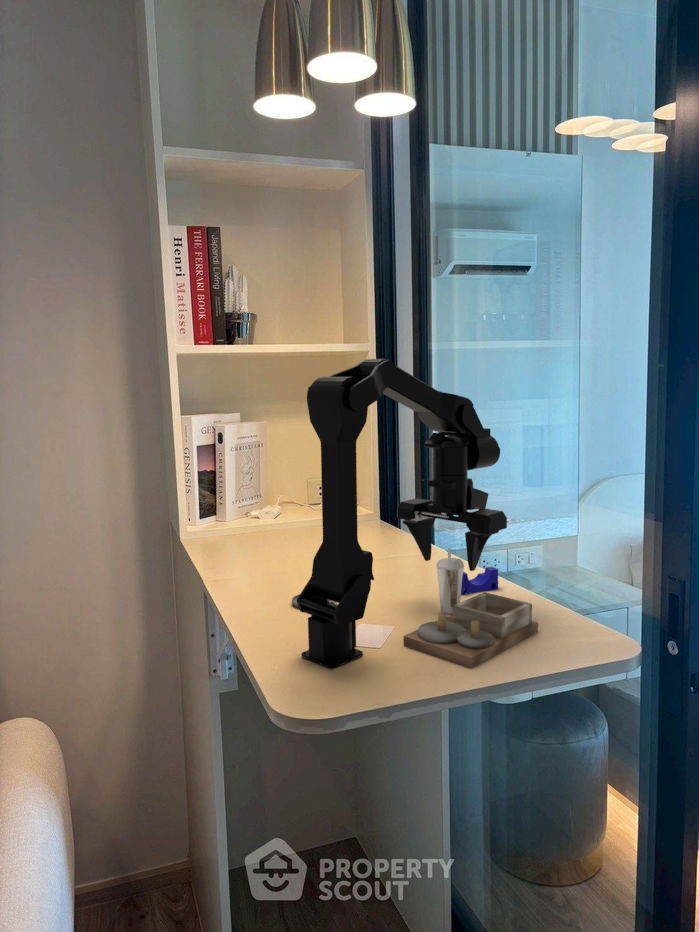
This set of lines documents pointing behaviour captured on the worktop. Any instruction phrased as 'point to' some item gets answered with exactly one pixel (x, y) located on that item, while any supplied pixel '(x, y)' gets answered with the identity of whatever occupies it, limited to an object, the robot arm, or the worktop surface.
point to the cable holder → (480, 581)
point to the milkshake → (449, 582)
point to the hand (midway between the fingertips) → (449, 565)
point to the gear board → (475, 630)
